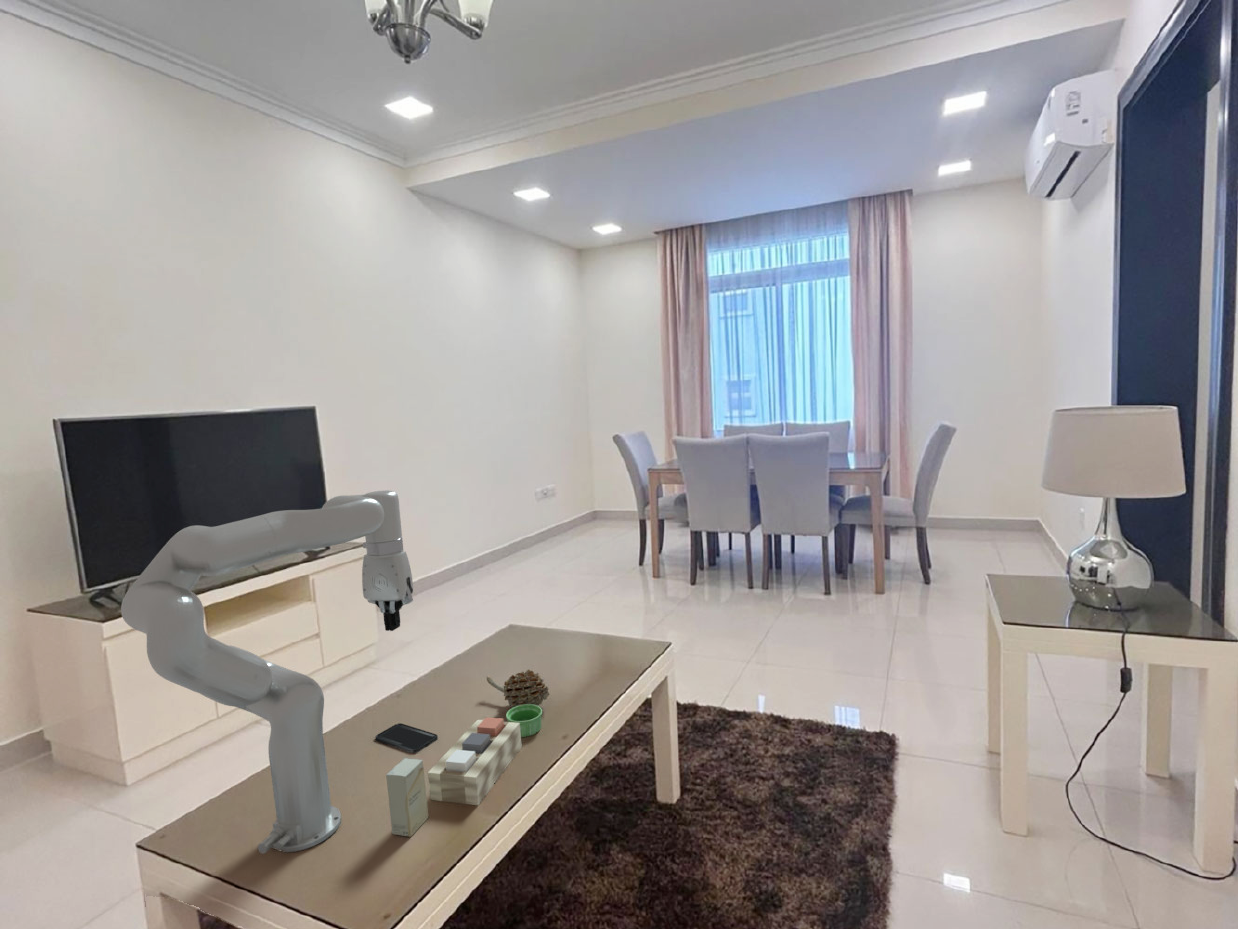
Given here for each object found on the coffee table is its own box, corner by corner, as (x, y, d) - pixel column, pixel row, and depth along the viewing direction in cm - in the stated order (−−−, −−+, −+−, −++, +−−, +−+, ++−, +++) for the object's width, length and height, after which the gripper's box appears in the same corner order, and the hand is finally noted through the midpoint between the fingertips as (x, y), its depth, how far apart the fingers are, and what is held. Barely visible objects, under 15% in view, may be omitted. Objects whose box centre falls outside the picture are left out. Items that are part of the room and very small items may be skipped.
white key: (467, 788, 131) (465, 763, 130) (447, 786, 132) (445, 761, 131) (477, 775, 135) (475, 751, 135) (458, 773, 136) (456, 749, 136)
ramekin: (520, 743, 152) (519, 725, 151) (500, 730, 158) (498, 713, 158) (550, 728, 158) (549, 711, 157) (529, 716, 164) (528, 700, 164)
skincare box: (410, 838, 120) (404, 777, 119) (390, 834, 121) (384, 775, 120) (429, 816, 126) (424, 759, 125) (410, 813, 127) (404, 756, 126)
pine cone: (558, 703, 170) (556, 668, 169) (538, 720, 162) (535, 683, 161) (495, 689, 181) (492, 656, 180) (472, 704, 173) (469, 670, 172)
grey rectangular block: (482, 769, 137) (480, 745, 137) (464, 767, 139) (462, 743, 138) (491, 757, 142) (490, 734, 141) (473, 755, 143) (471, 732, 142)
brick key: (496, 751, 144) (494, 728, 144) (479, 749, 145) (477, 727, 145) (505, 741, 149) (503, 718, 148) (487, 739, 150) (485, 717, 149)
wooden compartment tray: (478, 805, 128) (475, 777, 128) (430, 799, 131) (427, 772, 131) (521, 747, 150) (519, 722, 149) (479, 743, 152) (477, 719, 152)
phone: (398, 722, 164) (439, 735, 156) (399, 726, 164) (439, 739, 156) (372, 737, 157) (414, 751, 149) (373, 741, 157) (414, 755, 149)
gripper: (344, 551, 136) (352, 633, 138) (405, 551, 132) (413, 636, 134) (366, 543, 143) (374, 621, 145) (424, 543, 140) (432, 623, 141)
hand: (392, 628), depth 140 cm, fingers closed
